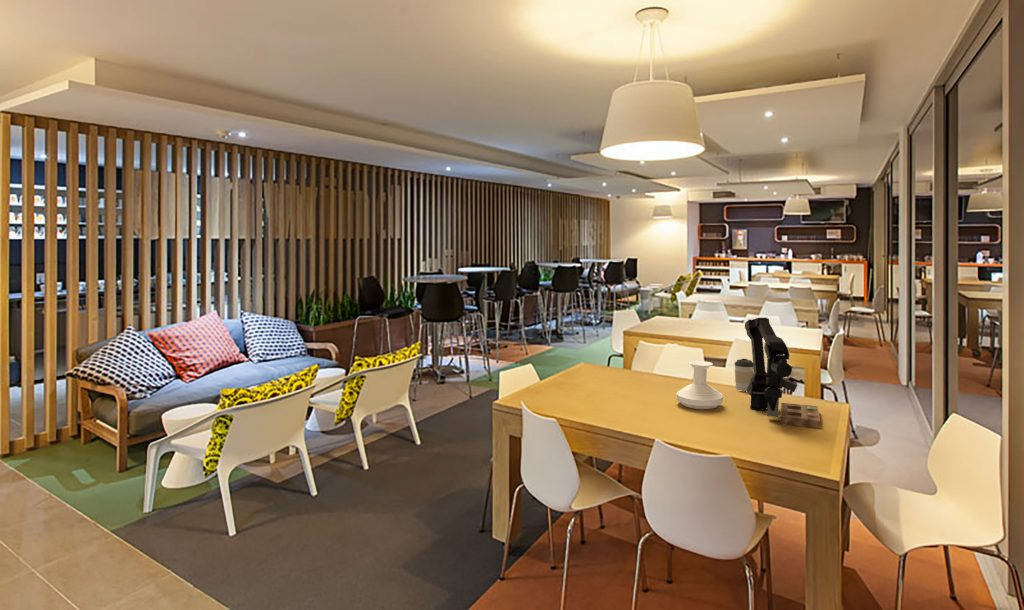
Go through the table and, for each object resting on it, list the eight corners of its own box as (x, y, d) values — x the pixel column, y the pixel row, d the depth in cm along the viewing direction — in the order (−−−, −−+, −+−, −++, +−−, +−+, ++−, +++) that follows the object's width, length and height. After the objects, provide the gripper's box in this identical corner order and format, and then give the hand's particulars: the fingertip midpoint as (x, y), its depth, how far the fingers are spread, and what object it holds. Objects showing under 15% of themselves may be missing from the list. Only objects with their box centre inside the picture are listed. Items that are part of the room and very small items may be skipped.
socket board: (780, 423, 236) (780, 415, 236) (781, 409, 256) (781, 401, 255) (819, 428, 230) (820, 419, 230) (817, 413, 250) (817, 404, 250)
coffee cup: (754, 393, 282) (755, 362, 281) (733, 391, 285) (734, 361, 284) (752, 388, 291) (754, 358, 289) (733, 387, 294) (734, 357, 292)
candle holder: (706, 415, 249) (707, 370, 246) (666, 405, 264) (667, 362, 262) (732, 406, 261) (733, 363, 259) (692, 397, 277) (693, 356, 274)
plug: (767, 415, 240) (768, 395, 239) (767, 413, 243) (768, 393, 242) (778, 417, 238) (778, 396, 237) (778, 414, 242) (779, 394, 241)
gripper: (796, 378, 227) (795, 417, 228) (796, 368, 244) (794, 405, 245) (765, 375, 231) (763, 414, 233) (767, 366, 248) (765, 402, 250)
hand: (772, 409), depth 240 cm, fingers closed on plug, 4 cm apart
